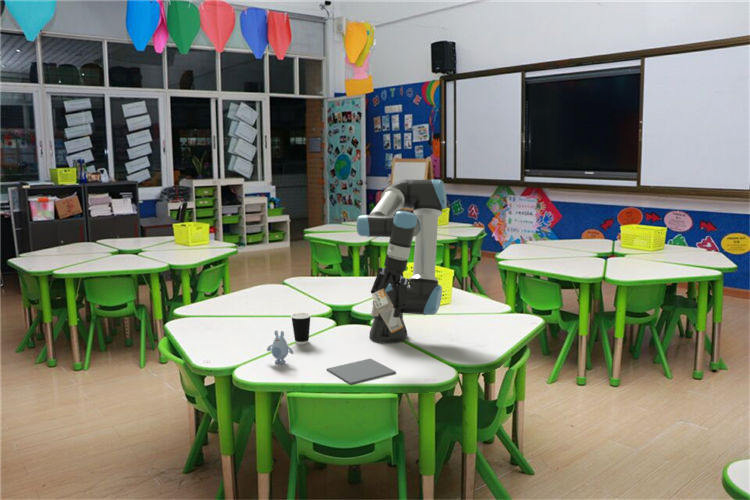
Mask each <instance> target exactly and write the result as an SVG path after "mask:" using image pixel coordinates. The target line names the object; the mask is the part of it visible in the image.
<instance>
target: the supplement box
mask: <svg viewBox="0 0 750 500" xmlns="http://www.w3.org/2000/svg"><path fill="white" fill-rule="evenodd" d="M371 296H372V299H373V300H374V303H375V306H376V309H377V310H378V312H379V313H380V315H381V317H382V318H383V320H384V322H385V323H386V325H387V327H388V328H389V330H390V332H391V333H393V332H395V331H397V330H399V329H401V328H403V325H402V323H401V320H400V317H398V319H397V323H396V326H389V320H390V316H391V311H392V307H393V304H392V302H391V301H390V299H389V297H388V295H387V294H386V292H385V290H384V289H381V290H379V291H377V292H375V293H373V294H372V293H371Z"/></svg>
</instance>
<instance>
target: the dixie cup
mask: <svg viewBox="0 0 750 500" xmlns="http://www.w3.org/2000/svg"><path fill="white" fill-rule="evenodd" d="M311 317H312V314H310V313H309V312H296V313H292V314H291V315H290V318H291V321H292V322H291V323H292V329H293V335H294V342H295V344H297V345H306V344H308V343H309V340H310V339H309V338H310V328H311Z"/></svg>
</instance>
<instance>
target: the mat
mask: <svg viewBox="0 0 750 500" xmlns="http://www.w3.org/2000/svg"><path fill="white" fill-rule="evenodd" d="M326 371H327V372H329V373H330V374H333V376H335V377H337V378H338V379H340V380H342V381H343V382H345V383H347V384H349V385H353V384H357V383H358V384H359V383H362V382H366V381H370V380H375V379H379V378H383V377H386V376H390V375H393V374H397V372H396V370H394V369H392V368H391V367H388V366H386V365H384V364H382V363H381V362H378V361H376V360H374V359H373V358H367V359H362V360H358V361H352V362H348V363H345V364H340V365H335V366H332V367H327V368H326Z"/></svg>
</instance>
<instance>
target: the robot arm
mask: <svg viewBox="0 0 750 500" xmlns="http://www.w3.org/2000/svg"><path fill="white" fill-rule="evenodd" d="M446 193H447V191H446V187H445V183H444V181H443V180H441V179H433V178H432V179H402V180H399V181H396V182H393V183H392V184H390V185H389V186H387V188H385V189H384V191H383V192H382V194H381V196H380V200H379V201H378V203H377V204H376V205H375V207H374V208H373V209H372V210H371V212H370V213H369V214H364V215H363V214H362V215H359V216H358V217H357V221H356V231H357V234H358V236H360V237H367V238H374V237H375V238H389V241H388V245H387V251H386V254H387V255H386V256H385V259H384V263H383V266H384V267H378V268H377V269H378V270H377V274H376V276H375V279H374V282H373V285H372V288H371V289H370V293H371V295H372V294H373V293H375V292H377V291H379V290H381V289H384V290H385V292H386V294H387V295H388V297H389V299H390V301H391V302H392V304H393V307H392V311H391V316H390V320H389V326H396V323H397V319H398V317H400V320H401V323H402V325H403V328H401V329H399V330H397V331H395V332H393V333H391V332H390V330H389V328H388V327H387V325H386V323H385V322H384V320H383V318H382V317H381V315H380V313H379V312H378V310H377V309H376V306H375V303H374V300H373V301H372V309H371V314H370V316H371V317H373V319H372V323H371V326H370V330H369V340H371V341H373V342H375V343H380V344H396V343H401V342H404V341H405V340H407V339H408V330H407V327H406V324H405V321H404V315H403V314H407V315H410V314H411V315H423V316H426V315H431V316H432V315H433V316H434V315H435V314H437V313H438V311H439V309H440V305H441V300H442V294H443V287H442V285H440V284H439V279H438V278H436V260H437V246H438V245H437V243H438V242H437V241H438V228H439V227H438V226H439V224H438V222H439V217H440V216H441V215H442V214H443V210H446V209H447V205H448V204H447V194H446ZM402 209H412V210H413V211H412V212H411V211H405V210H402ZM413 239H414V254H413V267H412V268H413V269H412V270H413V272H412V276H410V277H409V278H406V277H404V272H405V271H406V270H407V268H408V267H407V266H408V262H409V261H408V259H409V258H410V253H411V250H412V249H411V248H412V243H413Z"/></svg>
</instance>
